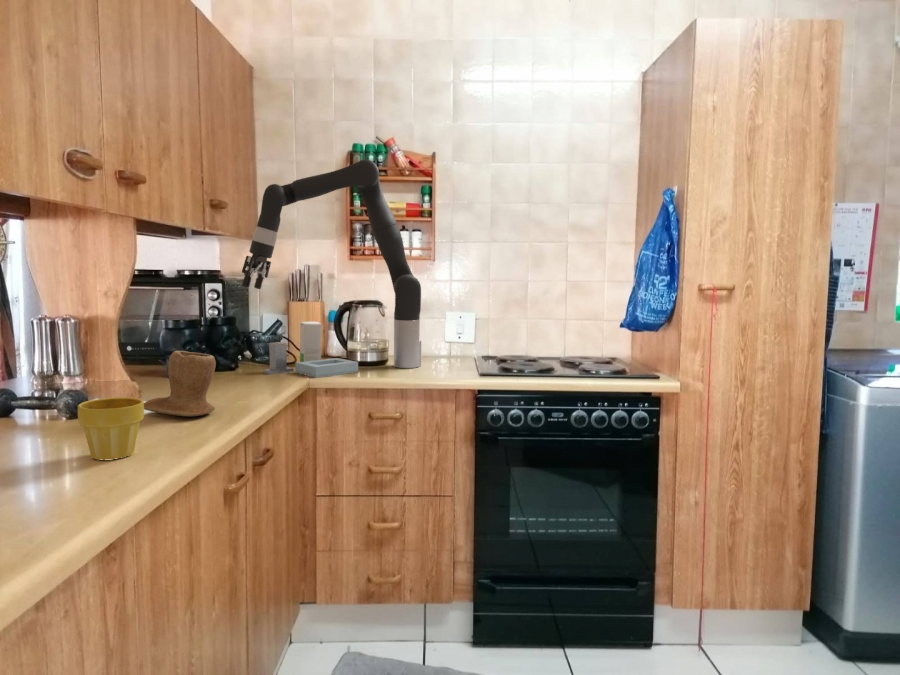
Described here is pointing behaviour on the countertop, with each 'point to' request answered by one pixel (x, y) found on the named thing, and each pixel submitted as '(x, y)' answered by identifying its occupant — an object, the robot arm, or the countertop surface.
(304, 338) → the skincare box
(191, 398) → the brown hat-shaped piece
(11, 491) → the countertop surface
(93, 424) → the plant pot
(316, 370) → the well block
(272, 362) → the bracket
